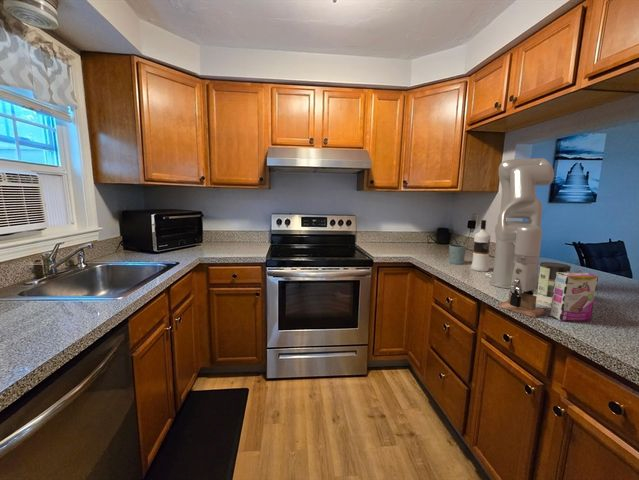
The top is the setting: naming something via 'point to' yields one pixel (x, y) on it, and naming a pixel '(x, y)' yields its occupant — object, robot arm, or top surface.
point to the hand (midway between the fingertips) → (521, 303)
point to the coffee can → (549, 277)
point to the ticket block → (543, 300)
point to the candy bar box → (573, 296)
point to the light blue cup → (457, 254)
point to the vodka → (481, 249)
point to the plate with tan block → (524, 305)
